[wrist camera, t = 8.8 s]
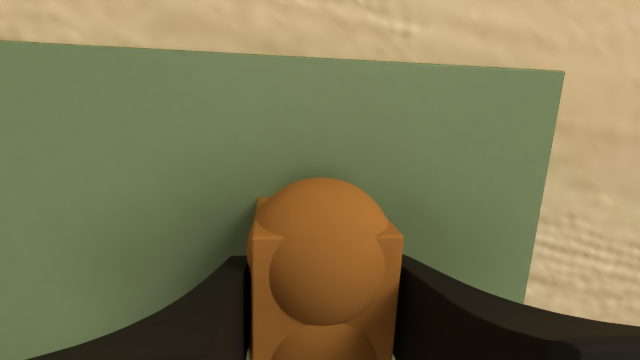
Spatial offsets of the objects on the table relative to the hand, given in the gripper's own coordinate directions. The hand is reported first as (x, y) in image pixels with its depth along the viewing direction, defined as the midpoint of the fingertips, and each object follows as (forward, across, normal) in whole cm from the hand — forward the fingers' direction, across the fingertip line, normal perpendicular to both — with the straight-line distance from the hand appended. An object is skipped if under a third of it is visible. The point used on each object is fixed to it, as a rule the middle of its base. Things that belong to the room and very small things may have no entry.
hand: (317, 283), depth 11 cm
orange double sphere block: (+1, 0, 0) cm, 1 cm away
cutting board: (+3, +2, 0) cm, 3 cm away
